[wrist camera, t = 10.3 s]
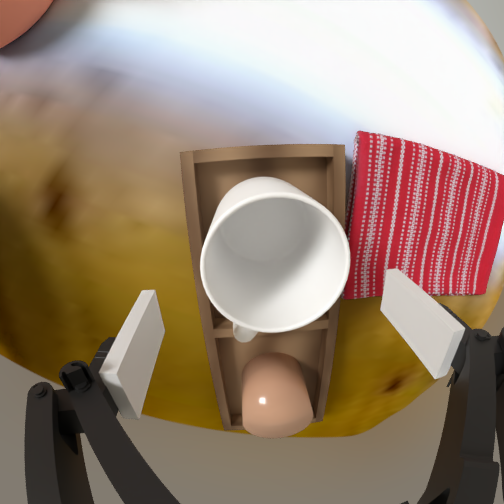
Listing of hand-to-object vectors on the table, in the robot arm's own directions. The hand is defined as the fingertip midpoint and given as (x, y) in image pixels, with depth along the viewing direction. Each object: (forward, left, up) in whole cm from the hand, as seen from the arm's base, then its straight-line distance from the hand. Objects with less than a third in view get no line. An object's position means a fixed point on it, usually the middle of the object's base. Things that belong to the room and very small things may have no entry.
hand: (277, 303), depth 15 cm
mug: (-1, 0, -11) cm, 11 cm away
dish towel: (+20, 0, -13) cm, 24 cm away
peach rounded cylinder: (0, -16, -11) cm, 19 cm away
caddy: (0, -8, -12) cm, 14 cm away
